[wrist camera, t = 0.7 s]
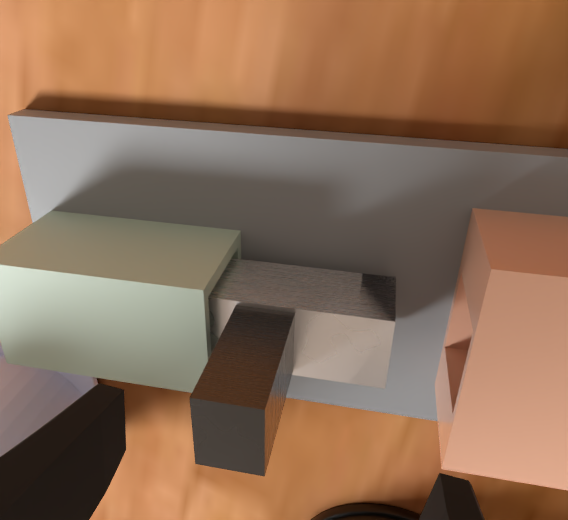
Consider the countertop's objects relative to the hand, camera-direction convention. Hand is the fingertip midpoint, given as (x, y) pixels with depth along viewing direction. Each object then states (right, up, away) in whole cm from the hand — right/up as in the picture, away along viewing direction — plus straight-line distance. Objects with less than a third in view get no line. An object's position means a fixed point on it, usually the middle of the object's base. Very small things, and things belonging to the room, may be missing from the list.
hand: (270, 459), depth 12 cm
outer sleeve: (-5, +4, +10) cm, 12 cm away
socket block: (+9, +3, +8) cm, 12 cm away
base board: (+1, +4, +10) cm, 11 cm away
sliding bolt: (-2, +4, +10) cm, 11 cm away
